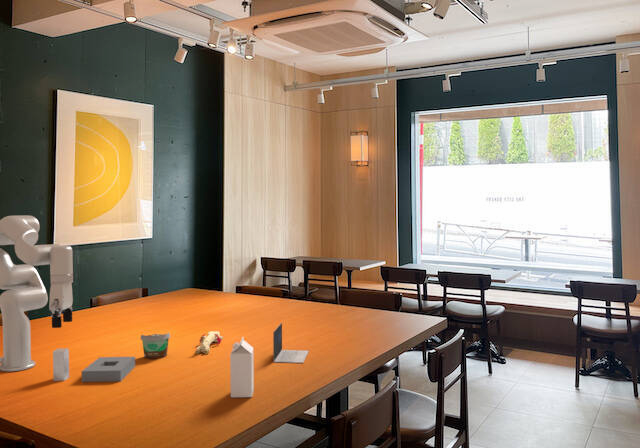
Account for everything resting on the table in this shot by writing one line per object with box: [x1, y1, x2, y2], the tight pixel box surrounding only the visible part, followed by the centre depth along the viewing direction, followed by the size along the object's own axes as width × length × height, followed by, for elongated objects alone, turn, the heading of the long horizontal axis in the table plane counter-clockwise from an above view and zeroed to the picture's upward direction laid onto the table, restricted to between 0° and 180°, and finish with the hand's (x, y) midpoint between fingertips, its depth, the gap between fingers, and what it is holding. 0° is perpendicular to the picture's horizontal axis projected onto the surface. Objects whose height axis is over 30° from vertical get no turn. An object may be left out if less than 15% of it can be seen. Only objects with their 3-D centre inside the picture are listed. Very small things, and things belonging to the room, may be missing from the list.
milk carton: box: [229, 336, 255, 398], centre depth 179 cm, size 7×7×19 cm
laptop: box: [272, 322, 310, 364], centre depth 224 cm, size 18×12×13 cm
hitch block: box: [81, 356, 136, 383], centre depth 201 cm, size 14×18×4 cm
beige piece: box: [194, 331, 224, 355], centre depth 240 cm, size 10×9×25 cm
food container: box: [140, 332, 171, 360], centre depth 223 cm, size 12×6×10 cm, turn 105°
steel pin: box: [52, 347, 70, 382], centre depth 195 cm, size 4×4×11 cm
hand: (62, 324), depth 195 cm, fingers open, 9 cm apart
